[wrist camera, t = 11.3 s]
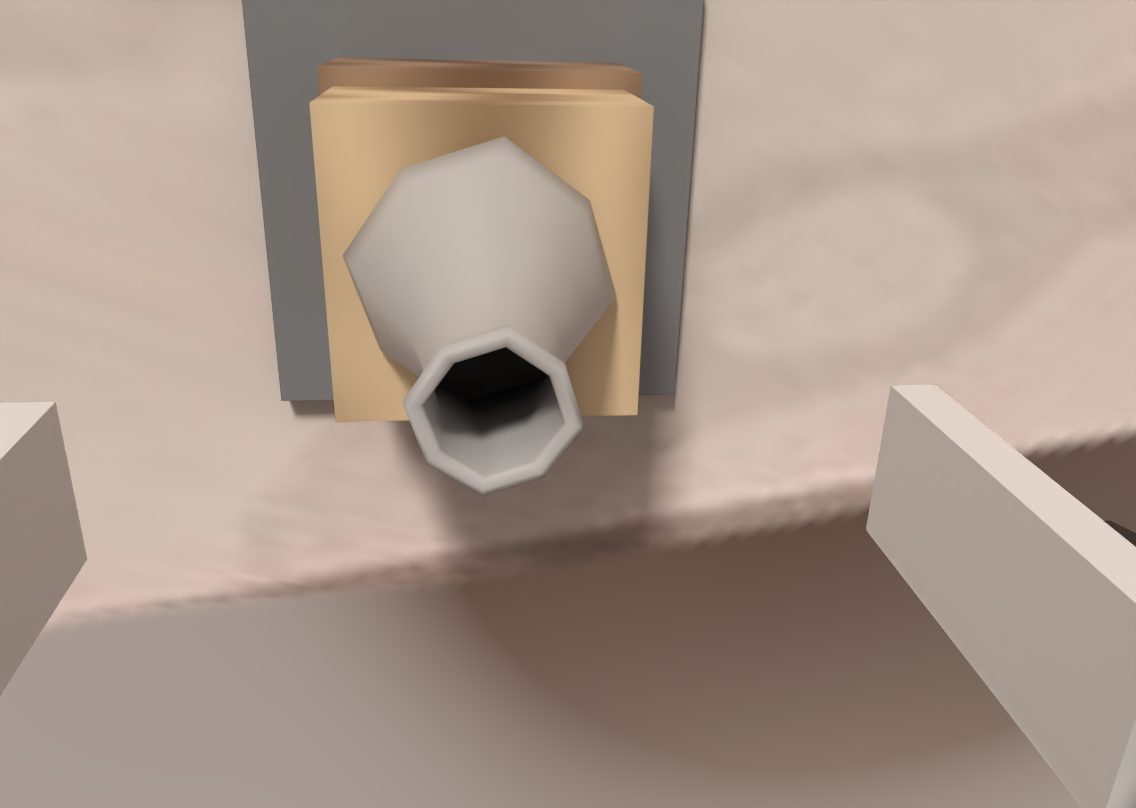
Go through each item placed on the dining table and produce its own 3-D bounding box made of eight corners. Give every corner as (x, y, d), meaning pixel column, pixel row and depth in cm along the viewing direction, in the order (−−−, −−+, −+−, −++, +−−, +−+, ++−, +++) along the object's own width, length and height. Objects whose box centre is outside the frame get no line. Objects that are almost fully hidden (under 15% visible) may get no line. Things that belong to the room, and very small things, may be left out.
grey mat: (285, 391, 39) (281, 400, 38) (244, -39, 33) (237, -40, 32) (669, 385, 41) (674, 394, 40) (699, -25, 35) (705, -26, 34)
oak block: (352, 362, 33) (335, 422, 28) (332, 86, 29) (309, 102, 25) (612, 357, 34) (637, 414, 29) (624, 89, 30) (653, 106, 26)
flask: (658, 299, 28) (756, 449, 19) (457, 437, 29) (457, 643, 20) (511, 84, 25) (542, 136, 16) (295, 245, 26) (206, 381, 17)
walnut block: (354, 328, 37) (339, 375, 33) (336, 57, 33) (317, 67, 29) (607, 326, 38) (627, 371, 34) (618, 62, 35) (642, 73, 30)
